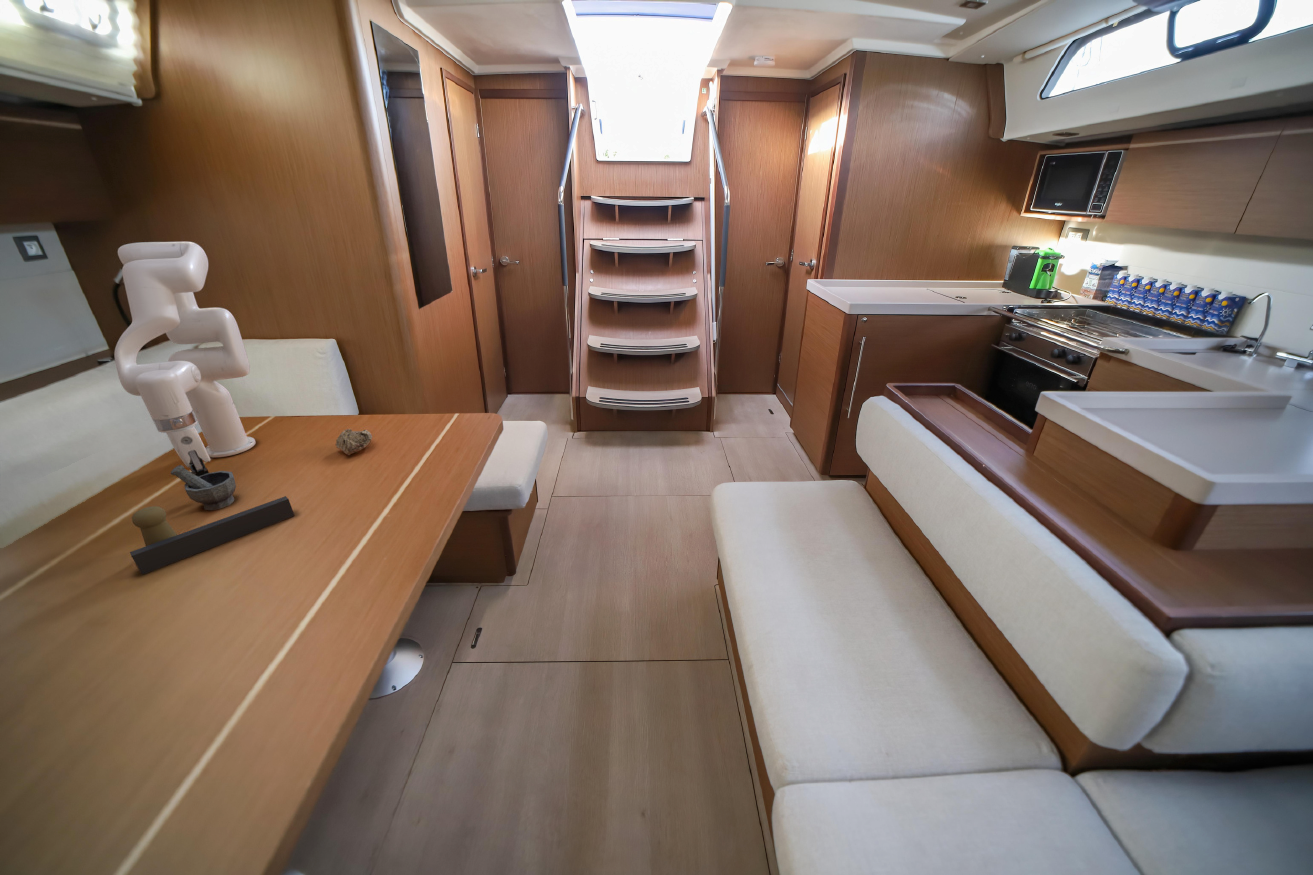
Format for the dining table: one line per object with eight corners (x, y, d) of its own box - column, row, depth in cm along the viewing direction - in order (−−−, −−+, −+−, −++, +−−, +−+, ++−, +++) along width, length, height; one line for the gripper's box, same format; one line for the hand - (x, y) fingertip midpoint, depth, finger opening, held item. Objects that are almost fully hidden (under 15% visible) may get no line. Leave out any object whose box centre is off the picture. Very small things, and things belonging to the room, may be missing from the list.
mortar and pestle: (247, 490, 134) (231, 451, 129) (237, 508, 126) (219, 467, 121) (195, 499, 130) (175, 459, 125) (181, 518, 122) (160, 476, 117)
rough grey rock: (345, 466, 152) (374, 450, 152) (327, 450, 148) (358, 434, 148) (351, 447, 161) (379, 432, 161) (334, 431, 157) (363, 416, 157)
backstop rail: (140, 570, 105) (129, 552, 103) (292, 512, 125) (285, 495, 123) (142, 575, 104) (131, 556, 102) (294, 515, 124) (288, 498, 121)
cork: (191, 546, 113) (171, 505, 108) (160, 562, 108) (137, 520, 103) (174, 540, 115) (153, 500, 110) (142, 556, 109) (119, 515, 105)
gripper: (202, 424, 121) (230, 488, 129) (188, 407, 129) (215, 468, 138) (161, 434, 116) (193, 500, 124) (149, 416, 124) (180, 479, 132)
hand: (205, 483), depth 131 cm, fingers closed
